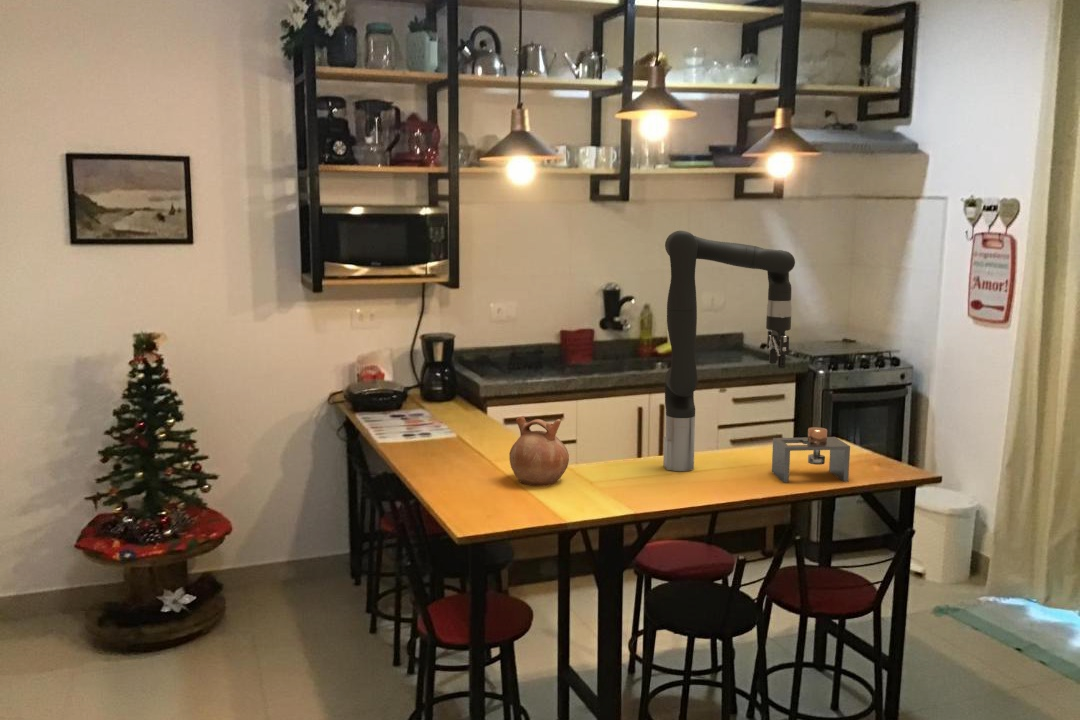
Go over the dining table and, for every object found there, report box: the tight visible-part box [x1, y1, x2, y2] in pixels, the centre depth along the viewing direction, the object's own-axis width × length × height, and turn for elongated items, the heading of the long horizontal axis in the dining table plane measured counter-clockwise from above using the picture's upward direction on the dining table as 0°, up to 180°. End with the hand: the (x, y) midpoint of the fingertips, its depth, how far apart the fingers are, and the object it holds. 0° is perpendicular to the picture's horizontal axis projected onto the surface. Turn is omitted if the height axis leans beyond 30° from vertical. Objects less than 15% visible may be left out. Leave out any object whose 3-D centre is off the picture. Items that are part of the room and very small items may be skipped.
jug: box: [508, 415, 570, 487], centre depth 293 cm, size 18×18×20 cm
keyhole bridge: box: [771, 436, 851, 484], centre depth 297 cm, size 20×12×11 cm, turn 94°
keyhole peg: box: [807, 426, 828, 466], centre depth 297 cm, size 6×6×10 cm
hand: (776, 365), depth 303 cm, fingers open, 8 cm apart
